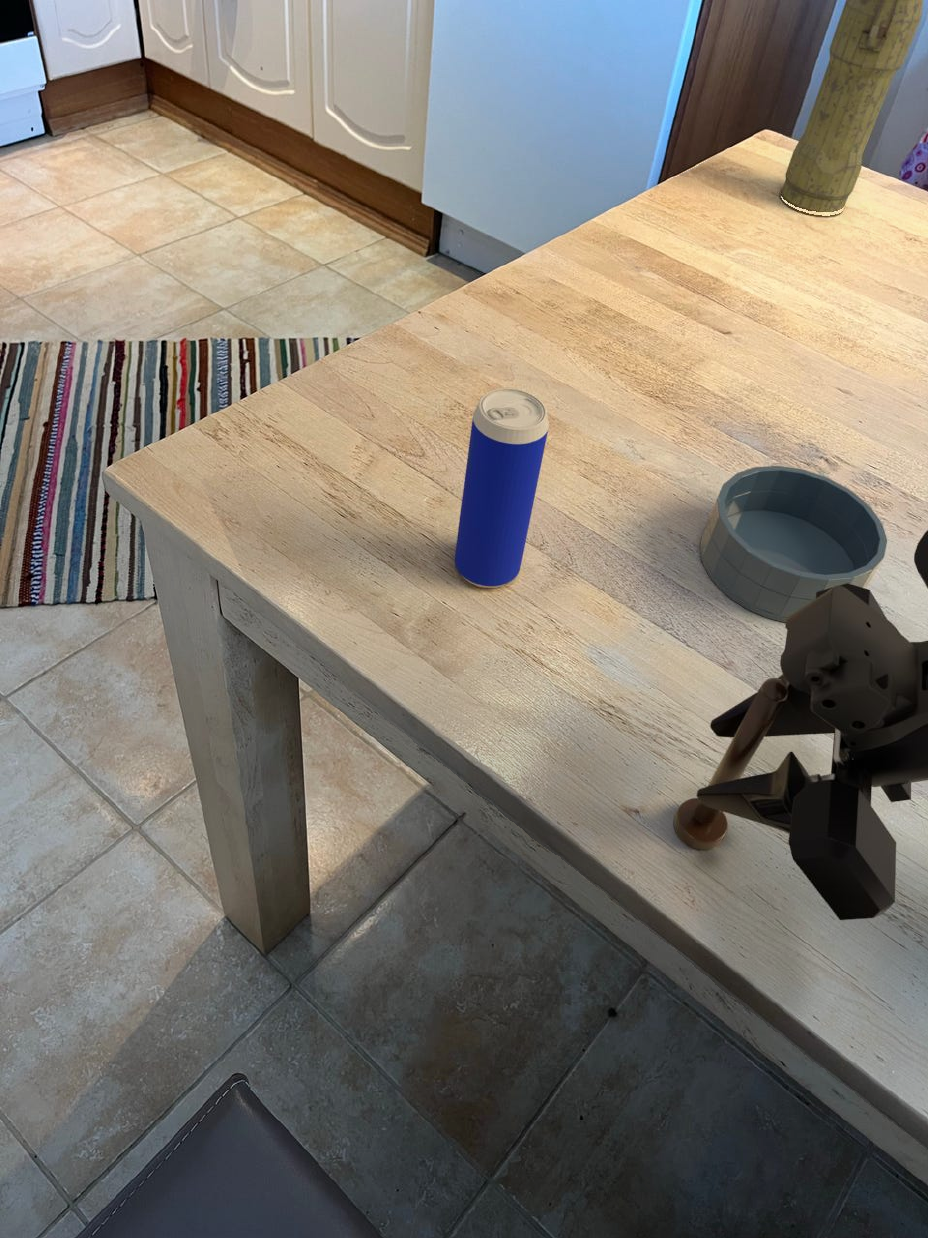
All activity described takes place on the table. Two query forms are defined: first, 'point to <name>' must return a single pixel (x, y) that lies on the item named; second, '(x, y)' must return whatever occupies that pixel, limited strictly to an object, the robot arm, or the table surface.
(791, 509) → the bowl
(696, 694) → the table surface
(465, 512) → the beverage can
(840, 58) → the olive tall cylinder
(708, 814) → the stirrer
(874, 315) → the table surface
